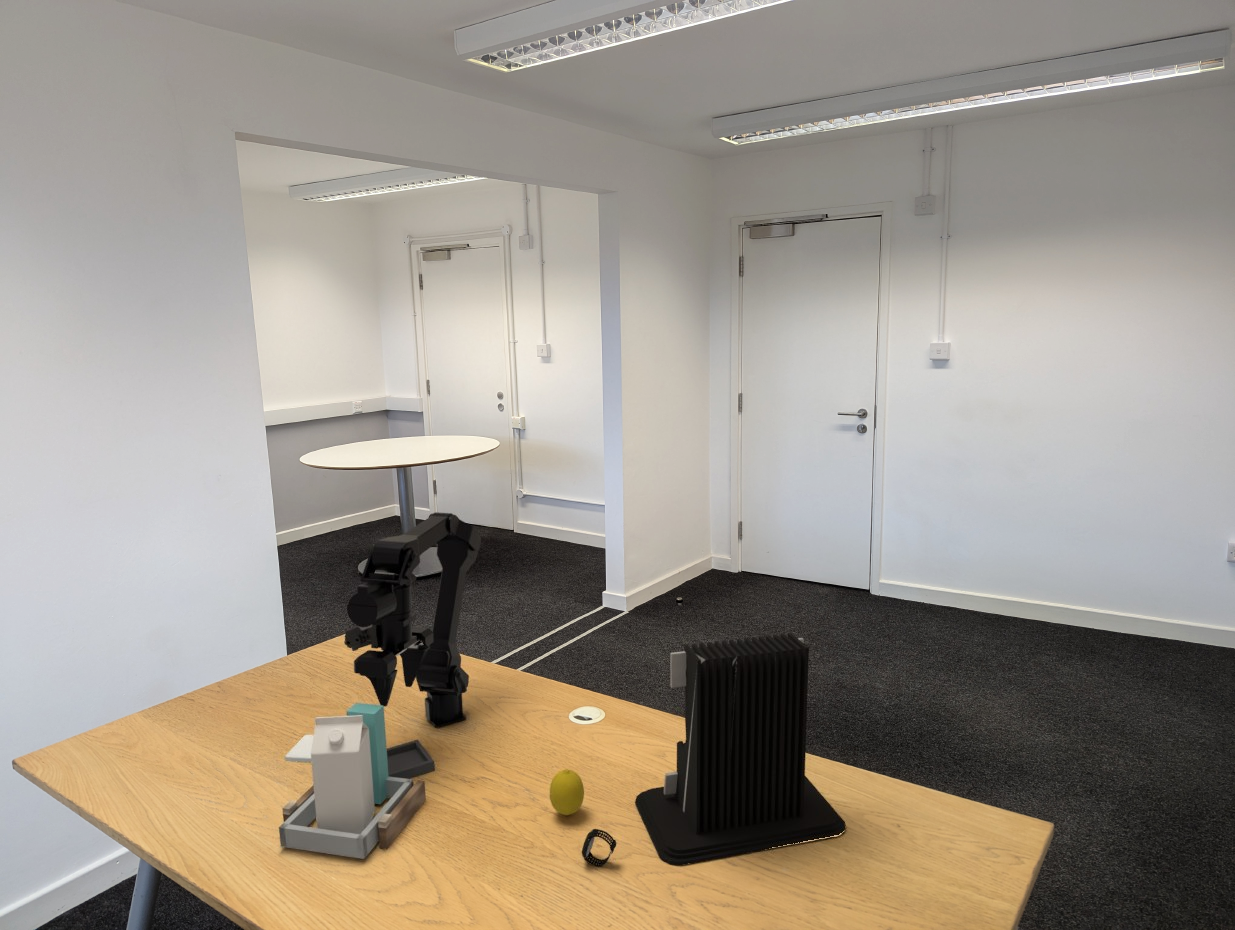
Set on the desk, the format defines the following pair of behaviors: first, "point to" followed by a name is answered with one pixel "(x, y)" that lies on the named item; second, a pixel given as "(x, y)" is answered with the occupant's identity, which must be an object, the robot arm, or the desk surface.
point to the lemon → (566, 792)
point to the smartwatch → (589, 843)
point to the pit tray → (409, 760)
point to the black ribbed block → (739, 755)
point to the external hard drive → (301, 750)
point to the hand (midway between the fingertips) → (396, 696)
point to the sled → (360, 845)
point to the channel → (388, 823)
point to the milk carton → (342, 774)
